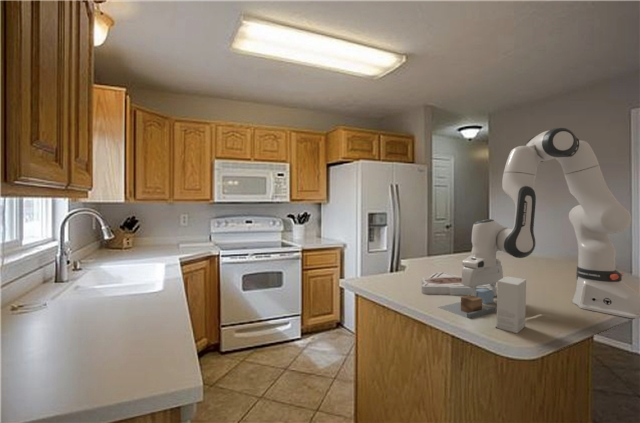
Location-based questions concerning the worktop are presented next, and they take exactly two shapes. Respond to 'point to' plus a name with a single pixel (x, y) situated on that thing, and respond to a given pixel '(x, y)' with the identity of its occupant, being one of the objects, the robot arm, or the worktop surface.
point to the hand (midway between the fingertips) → (482, 295)
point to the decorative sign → (448, 285)
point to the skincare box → (511, 304)
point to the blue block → (486, 295)
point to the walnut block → (471, 303)
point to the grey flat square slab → (457, 310)
